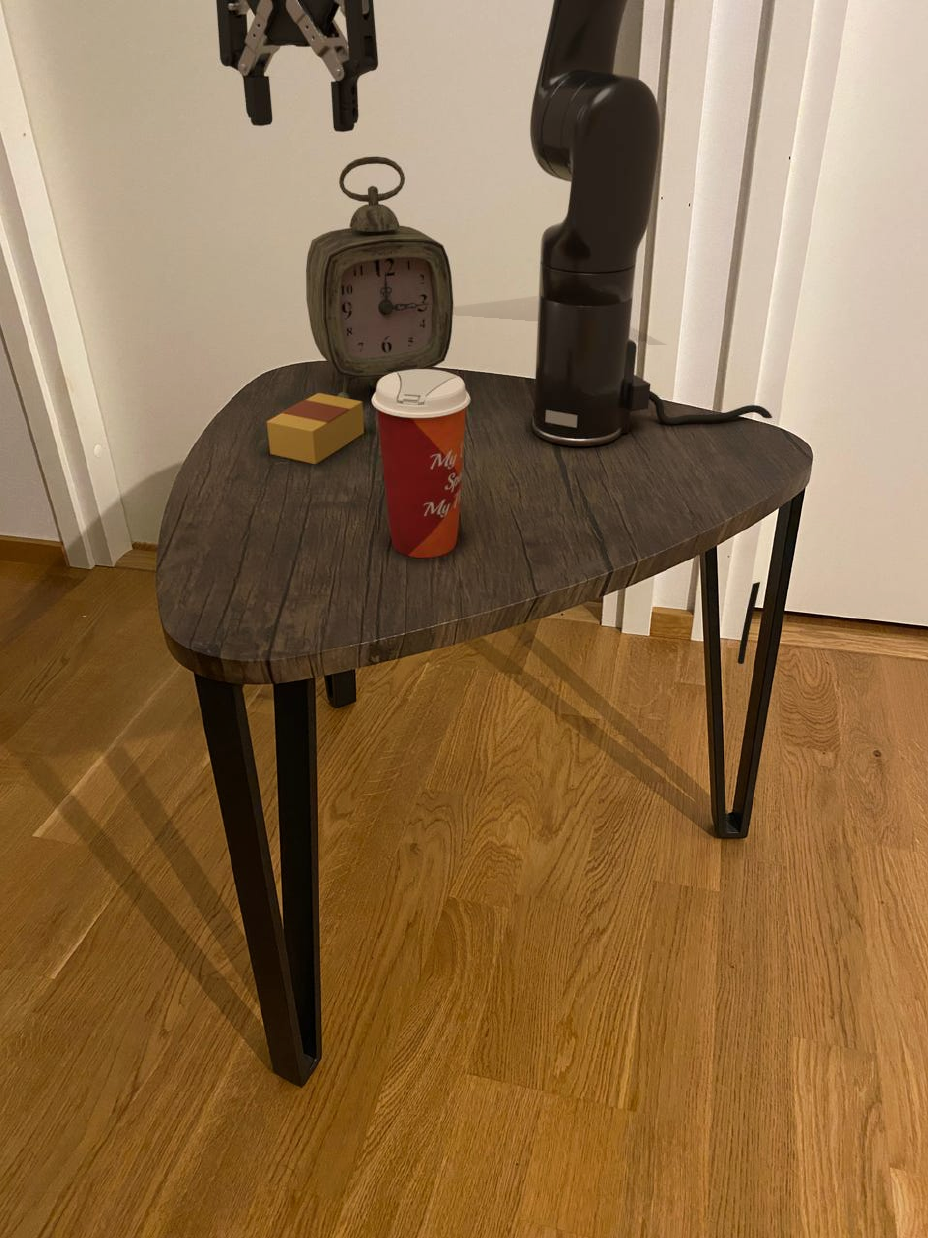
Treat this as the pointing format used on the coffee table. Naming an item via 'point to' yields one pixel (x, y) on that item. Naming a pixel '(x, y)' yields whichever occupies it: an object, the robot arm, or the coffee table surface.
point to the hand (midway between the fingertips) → (302, 127)
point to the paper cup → (422, 457)
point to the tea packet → (315, 428)
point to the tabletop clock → (378, 291)
